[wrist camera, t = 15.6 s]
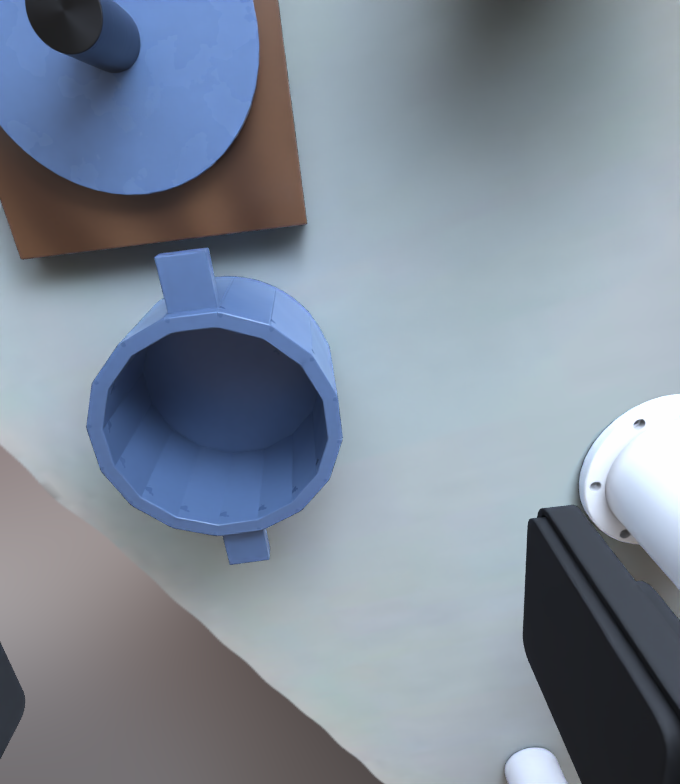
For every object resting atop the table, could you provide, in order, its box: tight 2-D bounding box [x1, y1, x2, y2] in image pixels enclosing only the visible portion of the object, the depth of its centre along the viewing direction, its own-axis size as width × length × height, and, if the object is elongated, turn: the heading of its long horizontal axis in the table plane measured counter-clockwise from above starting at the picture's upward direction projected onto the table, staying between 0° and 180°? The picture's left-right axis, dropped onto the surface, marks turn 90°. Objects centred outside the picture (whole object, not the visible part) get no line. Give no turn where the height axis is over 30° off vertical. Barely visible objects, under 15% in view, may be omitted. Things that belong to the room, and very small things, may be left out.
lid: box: [0, 0, 260, 195], centre depth 24 cm, size 14×14×7 cm
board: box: [0, 0, 307, 260], centre depth 28 cm, size 16×19×2 cm
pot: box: [86, 248, 343, 565], centre depth 32 cm, size 13×18×8 cm
